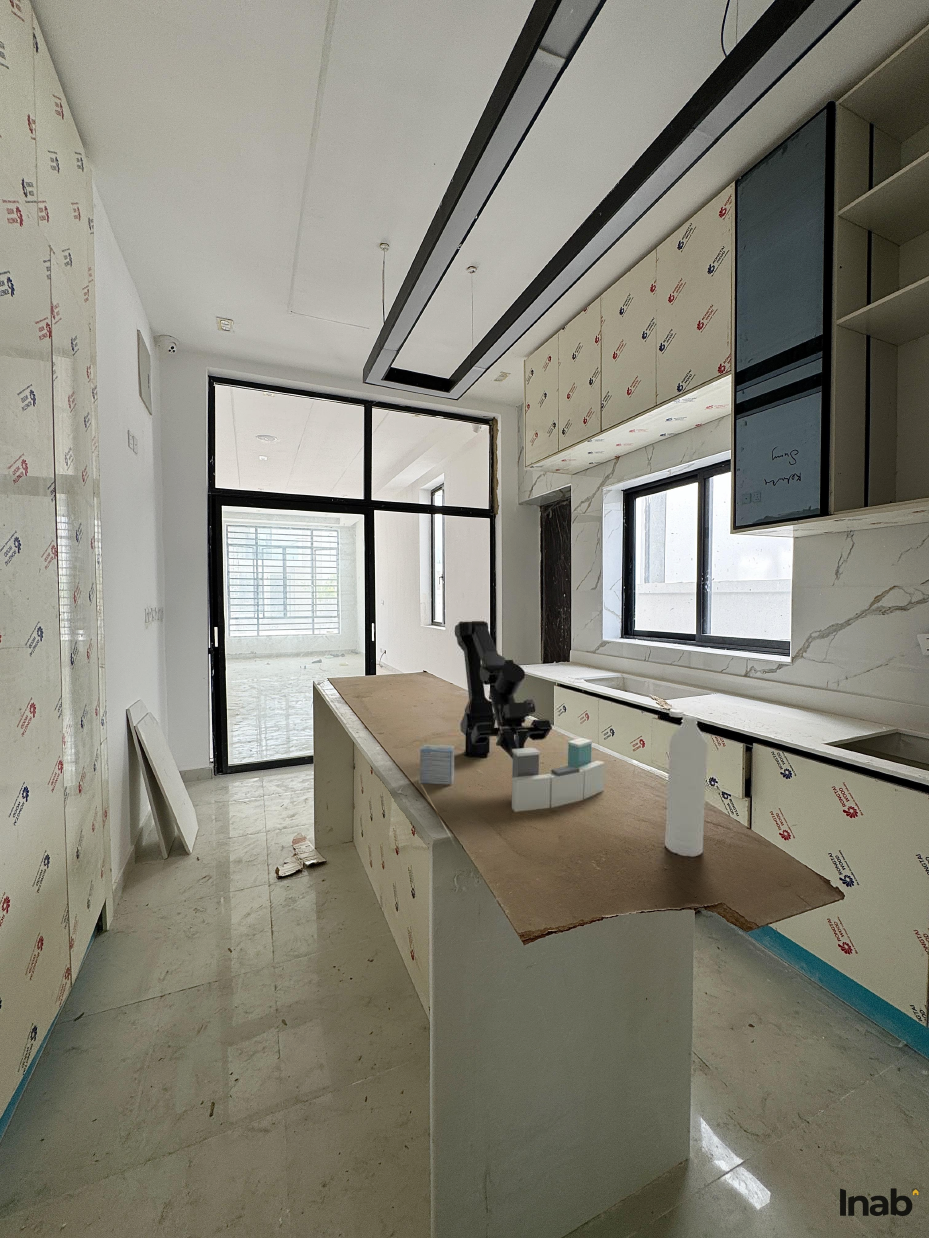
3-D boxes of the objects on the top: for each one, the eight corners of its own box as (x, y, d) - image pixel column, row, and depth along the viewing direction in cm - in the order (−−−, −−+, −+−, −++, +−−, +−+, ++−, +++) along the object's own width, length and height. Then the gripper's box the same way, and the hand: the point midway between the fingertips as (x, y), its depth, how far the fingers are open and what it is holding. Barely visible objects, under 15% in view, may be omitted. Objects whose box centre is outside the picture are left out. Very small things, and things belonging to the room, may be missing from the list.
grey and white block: (511, 799, 118) (512, 749, 117) (532, 797, 119) (533, 747, 118) (516, 805, 115) (517, 753, 114) (538, 803, 116) (539, 751, 115)
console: (521, 816, 110) (521, 780, 109) (509, 809, 113) (510, 774, 113) (610, 794, 122) (611, 761, 122) (597, 788, 126) (599, 756, 125)
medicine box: (454, 779, 130) (454, 745, 130) (451, 786, 126) (452, 750, 125) (422, 777, 131) (423, 743, 130) (419, 784, 127) (419, 749, 126)
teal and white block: (566, 789, 124) (567, 741, 123) (579, 784, 128) (580, 737, 127) (577, 793, 122) (579, 744, 121) (590, 788, 125) (592, 740, 125)
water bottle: (710, 856, 95) (717, 720, 94) (677, 858, 94) (683, 721, 92) (682, 833, 104) (688, 708, 102) (651, 835, 103) (657, 709, 101)
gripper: (475, 688, 120) (490, 751, 111) (550, 685, 126) (570, 745, 116) (465, 714, 128) (478, 774, 119) (535, 710, 134) (553, 767, 124)
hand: (520, 764), depth 119 cm, fingers closed
